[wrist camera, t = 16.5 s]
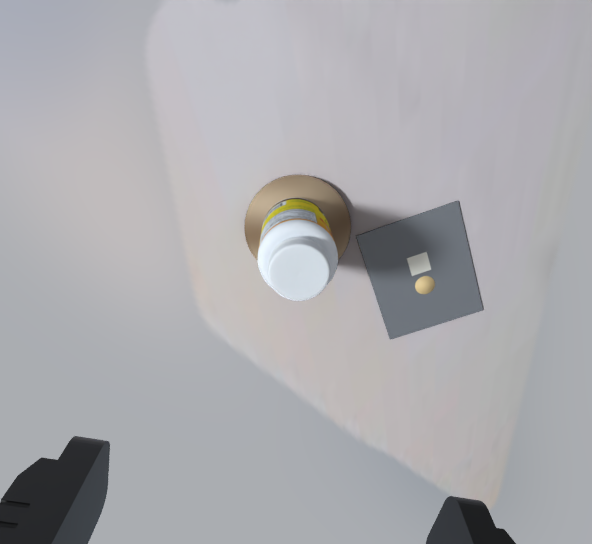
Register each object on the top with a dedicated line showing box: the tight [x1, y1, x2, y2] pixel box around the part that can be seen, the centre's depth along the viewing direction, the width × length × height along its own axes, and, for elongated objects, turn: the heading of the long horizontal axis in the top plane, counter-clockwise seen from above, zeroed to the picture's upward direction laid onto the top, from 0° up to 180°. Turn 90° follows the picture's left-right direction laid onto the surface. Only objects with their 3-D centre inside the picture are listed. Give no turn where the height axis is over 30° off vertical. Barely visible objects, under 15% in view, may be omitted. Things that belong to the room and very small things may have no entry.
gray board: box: [356, 201, 483, 340], centre depth 40 cm, size 11×9×1 cm
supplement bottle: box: [258, 198, 338, 301], centre depth 33 cm, size 6×6×10 cm
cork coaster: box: [245, 175, 351, 261], centre depth 38 cm, size 9×9×1 cm
